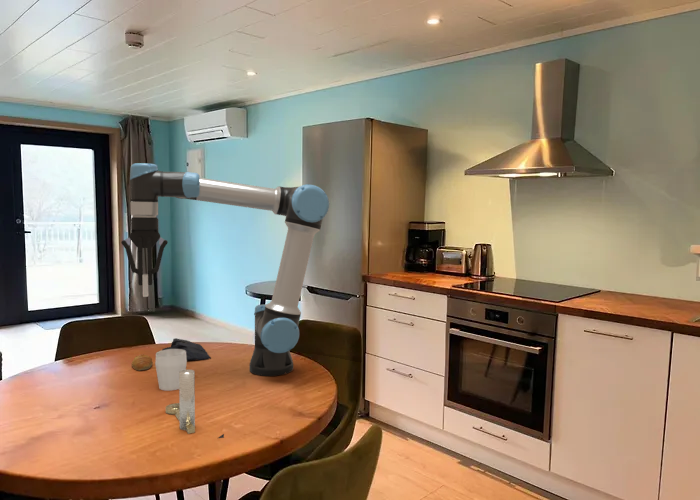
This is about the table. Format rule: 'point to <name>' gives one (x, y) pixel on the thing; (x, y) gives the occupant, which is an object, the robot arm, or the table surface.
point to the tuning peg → (185, 401)
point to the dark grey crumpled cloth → (190, 349)
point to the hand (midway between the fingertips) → (145, 296)
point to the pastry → (142, 362)
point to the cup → (170, 368)
